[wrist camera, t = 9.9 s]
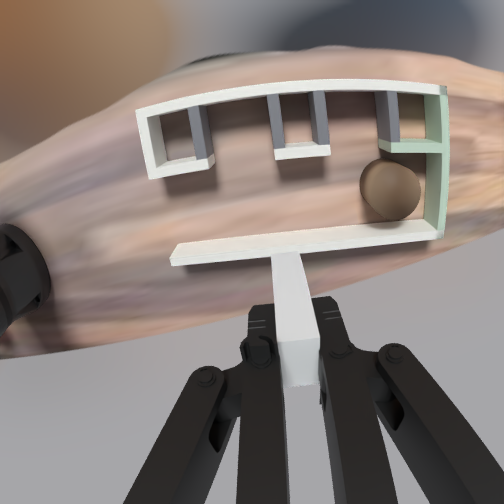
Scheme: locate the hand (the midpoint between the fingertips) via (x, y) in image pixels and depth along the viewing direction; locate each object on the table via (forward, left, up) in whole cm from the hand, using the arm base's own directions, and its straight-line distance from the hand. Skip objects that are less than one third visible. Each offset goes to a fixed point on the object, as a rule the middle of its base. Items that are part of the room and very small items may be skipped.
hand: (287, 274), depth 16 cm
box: (+3, +3, -16) cm, 17 cm away
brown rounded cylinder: (+12, 0, -16) cm, 20 cm away
